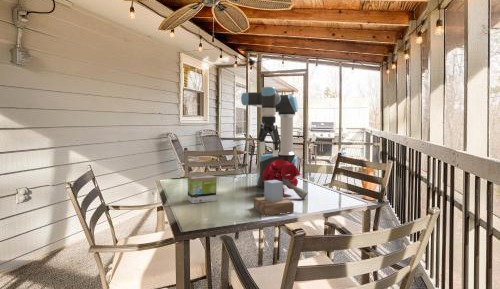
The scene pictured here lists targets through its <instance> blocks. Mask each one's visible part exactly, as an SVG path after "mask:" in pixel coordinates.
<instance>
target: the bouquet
mask: <svg viewBox="0 0 500 289" xmlns="http://www.w3.org/2000/svg"><path fill="white" fill-rule="evenodd" d="M301 175H302V174H301V171H300V170H299V169H298V167H297V166H295V165H294V163H289V162H287V161H284V160H275V161H273V162H272V163H270V165H268V166H267V167H266V168H265V171H264V172H263V174H262V176H263V182H264V181H269V180H278V181H282V182H283V186H286V187H287V189H289V190H293V191H294V192H295V193H296V194H297V196H298V197H299V198H301V199H302V200H304V199H305V198H306V196H307V195H308V193H309V192H308V191H306V190H305V189H303V188H301V187H298V184H299V180H298V179H297V177H300V176H301ZM283 197H285V187H283Z"/></svg>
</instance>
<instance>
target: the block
mask: <svg viewBox="0 0 500 289" xmlns="http://www.w3.org/2000/svg"><path fill="white" fill-rule="evenodd" d="M283 188H284V185H283V182H282V181H278V180H269V181H264V188H263V189H264V193H263V194H264V195H263V197H264V199H265V200H267V201H270V202H277V201H283V197H284V196H283Z"/></svg>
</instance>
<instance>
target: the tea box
mask: <svg viewBox="0 0 500 289" xmlns="http://www.w3.org/2000/svg"><path fill="white" fill-rule="evenodd" d="M187 200H188V201H189V202H190V203H191V204H197V203H207V202H216V201H217V176H214V175H213V174H201V175H199V174H198V175H188V176H187Z"/></svg>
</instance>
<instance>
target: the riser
mask: <svg viewBox="0 0 500 289" xmlns="http://www.w3.org/2000/svg"><path fill="white" fill-rule="evenodd" d="M294 204H295V203H294V202H293V201H291V200H289V199H287V198H285V196H283V201H277V202H270V201H267V200H265V199H264V196H260V197H254V198H253V208H254V209H255V210H256V211H258V213H260V212H261V213H260V214H262V215H263V216H264V215H265V216H264V217H268V216H267V215H271V216H274V215H273V214H280V213H287V212H294V211H295V209H294V208H295V205H294ZM294 213H295V212H294ZM280 215H281V214H280Z"/></svg>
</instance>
